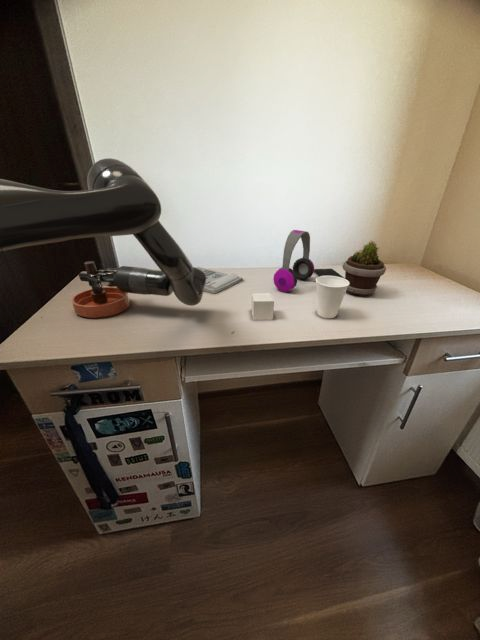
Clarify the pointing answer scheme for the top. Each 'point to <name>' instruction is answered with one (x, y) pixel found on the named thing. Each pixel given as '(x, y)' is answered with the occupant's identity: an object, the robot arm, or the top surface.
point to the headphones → (302, 267)
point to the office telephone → (219, 280)
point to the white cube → (262, 306)
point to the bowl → (92, 310)
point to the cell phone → (327, 272)
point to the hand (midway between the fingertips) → (84, 275)
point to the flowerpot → (364, 271)
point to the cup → (330, 295)
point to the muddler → (96, 294)
